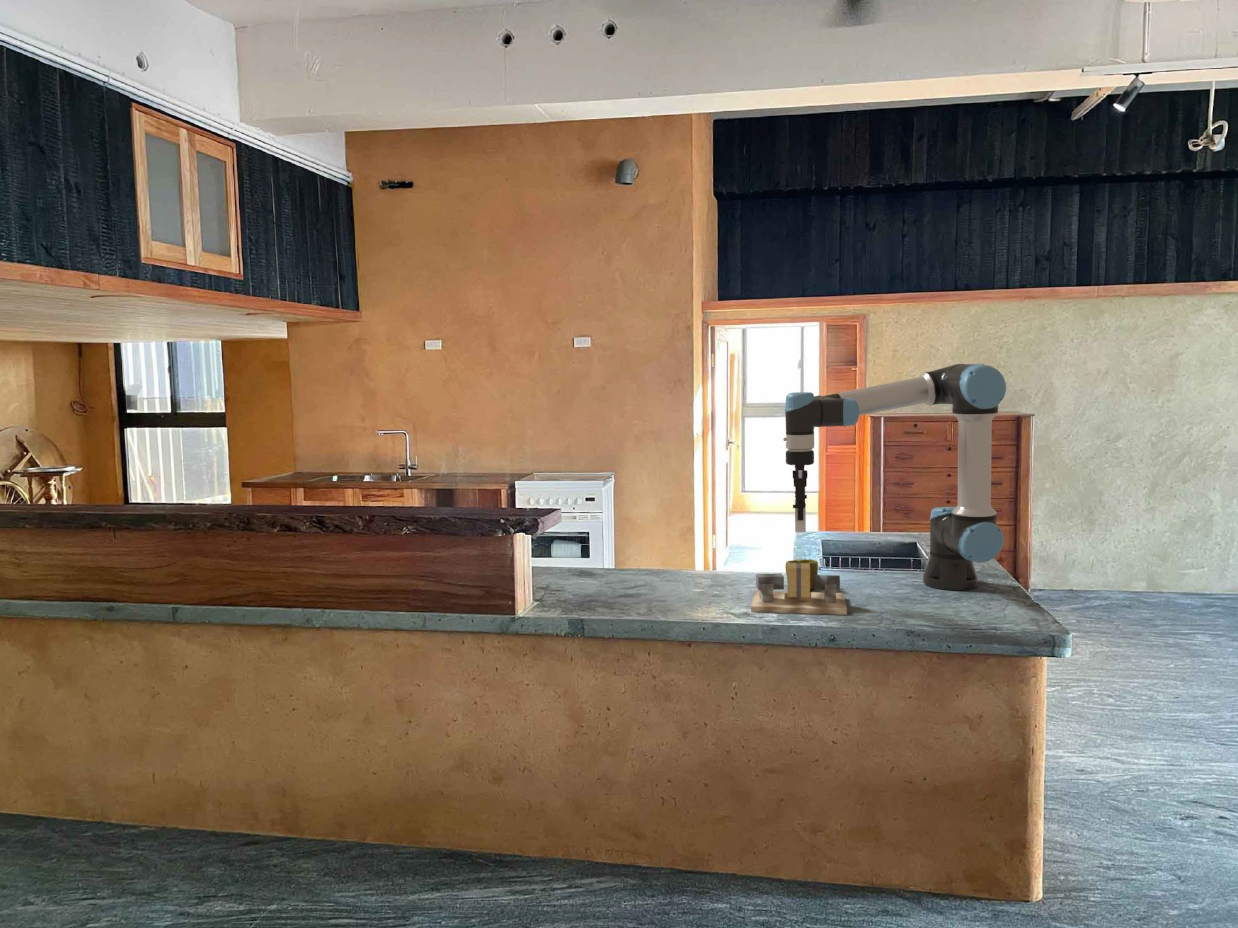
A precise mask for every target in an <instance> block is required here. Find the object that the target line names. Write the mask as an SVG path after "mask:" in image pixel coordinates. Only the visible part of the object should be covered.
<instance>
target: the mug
mask: <svg viewBox="0 0 1238 928" xmlns="http://www.w3.org/2000/svg"><path fill="white" fill-rule="evenodd" d="M788 563H810V590H813V575H819V574H818V571H819V563H818V561H817V560H815V559H809V558H808V559H806V558H804V559H801V558H799V559H792V560H787V561H786V562H785V567H784V568H785V574H786V575H785V576H787V568H788ZM787 584H788V582H787Z"/></svg>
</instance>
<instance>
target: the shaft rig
mask: <svg viewBox="0 0 1238 928" xmlns="http://www.w3.org/2000/svg"><path fill="white" fill-rule="evenodd" d="M755 575H756V576H755V577H756V578H755V580H756V581H755V585H756V586H755V587H756V588H757V590H753V594H752V599H751V604H750V610H751V613H778V614H779V613H780V614H781V613H782V614H809V615H810V614H811V615H813V614H815V615H838V616H839V615H842V616H845V615H848V608H847V604H846V598H845V593H843V592H837V591H840V590H841V577H840V575H839V574H838V575H835V574H834V575H830V574H818V575H813V589H812V590H815V591H816V590H818V591H819V592H815V591H812V592H811V591H810V597H788V591H784V589H785V576H784V574H783V573H778V572H777V573H756V574H755ZM775 590H776V591H775ZM778 590H780V591H778ZM820 591H823V592H820Z"/></svg>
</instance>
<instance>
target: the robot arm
mask: <svg viewBox="0 0 1238 928" xmlns="http://www.w3.org/2000/svg"><path fill="white" fill-rule="evenodd" d="M1006 392H1007V383H1006V380H1005V377H1004V376H1003V374H1002V372H1001V371H999V369H997V368H996V367H993V366H991V365H987V364H984V363H957V364H951V365H948V366H946V367H942V368H939V369H934V370H930V371H926V372H923V373H921V374H920V376H919V377H914V378H908V379H904V380H898V381H893V382H887V383H884V384H883V383H882V384H877V385H873V386H867V387H861V388H858V389H857V388H856V389H852V390H848V391H842V392H837V393H832V394H827V395H814V393H813V392H807V391H806V392H802V391H801V392H799V391H797V392H796V391H795V392H789V393H787V395H786V397H785V408H784V412H785V437H784V438H783V439H782V440H783V442H785V449H787V450H786V451H785V463H786V465H789V466H794V470H792V479H793V487H794V488H795V489H794V498H795V499H794V504H792V509H794V524H795V525H794V527H795V528H794V529H795V531H794V532H795V533H806V531H807V528H806V526H807V525H806V520H807V519H806V515H807V514H806V512H807V511H806V508H807V506H806V505H807V504H806V499H808V494H806V487H807V486H808V485H807V484H808V483H807V479H808V470H805V466H811V465H813V464H815V451H814V450H813V449H815V428H820V427H821V428H823V427H824V428H825V427H826V428H827V427H828V428H830V427H843V428H844V427H853V426H855V425H856V424H858V422H859V420H860V419H859V418H860V416H864V415H869V414H874V413H880V412H885V411H890V410H891V411H892V410H895V409H901V408H906V407H911V406H916V405H922V404H925V405H927V406H928V407H929V406H934V405H951V406H952V407H951V408H952V410H951V411H952V415H953V416H954V417H955V418H956V419H957V506H938V507H934V508H932V509H931V511H930V516H929V517H930V518H929V558H928V560H927V564H926V566H925V569H924V572H923V575H922V584H924V585H926V586H928V587H930V588H935V589H940V590H946V591H948V590H950V591H966V590H973V589H975V588H977V587H978V584H979V583H978V576H977V571H976V569H975V568H976V567H975V565H974V563H973V562H975V563H987V562H989V561H992V560H993V559H994V558H995V557H997V556H998V555H999V554H1000V552H1001V551H1002V550H1003V546H1004V543H1005V536H1004V533H1003V531H1002V529H1001V528H1000V527H999V525H998V524H997V522H998V519H997V517H998V515H997V514H998V513H997V511H996V510H995V509H994V508H993V507H992V501H991V500H992V499H991V498H992V442H993V441H992V437H993V436H992V434H993V433H992V432H993V431H992V429H993V425H992V424H993V419H994V418H995V417H996V416H998V415H999V404H1001V402H1002V401H1003V400H1004V398H1005V396H1006Z"/></svg>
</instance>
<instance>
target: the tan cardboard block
mask: <svg viewBox="0 0 1238 928" xmlns="http://www.w3.org/2000/svg"><path fill="white" fill-rule="evenodd" d="M786 581H787V582H788V583H787V592H788V597H810V592H811V589H810V563H788V568H787V575H786Z"/></svg>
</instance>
